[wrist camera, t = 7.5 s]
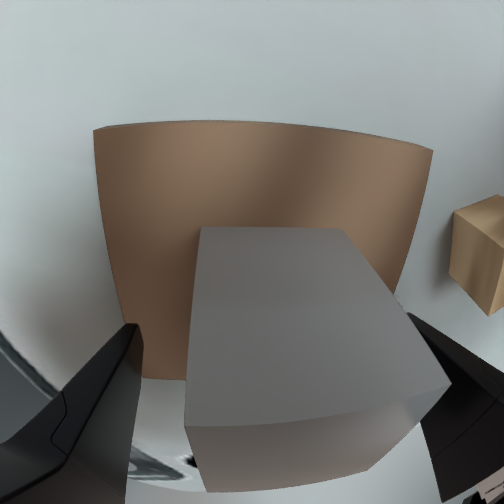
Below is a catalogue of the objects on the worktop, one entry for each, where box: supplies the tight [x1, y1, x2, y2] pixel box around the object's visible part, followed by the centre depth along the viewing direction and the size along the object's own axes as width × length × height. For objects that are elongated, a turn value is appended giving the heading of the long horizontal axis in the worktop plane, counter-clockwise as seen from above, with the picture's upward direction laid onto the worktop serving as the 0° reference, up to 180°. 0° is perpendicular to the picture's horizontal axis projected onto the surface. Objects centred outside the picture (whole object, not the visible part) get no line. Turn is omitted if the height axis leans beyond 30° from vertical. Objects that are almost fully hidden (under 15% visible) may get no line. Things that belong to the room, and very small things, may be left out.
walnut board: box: [93, 120, 433, 380], centre depth 12 cm, size 12×12×1 cm
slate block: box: [184, 227, 452, 492], centre depth 8 cm, size 5×5×7 cm
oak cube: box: [448, 194, 504, 316], centre depth 11 cm, size 4×4×4 cm
